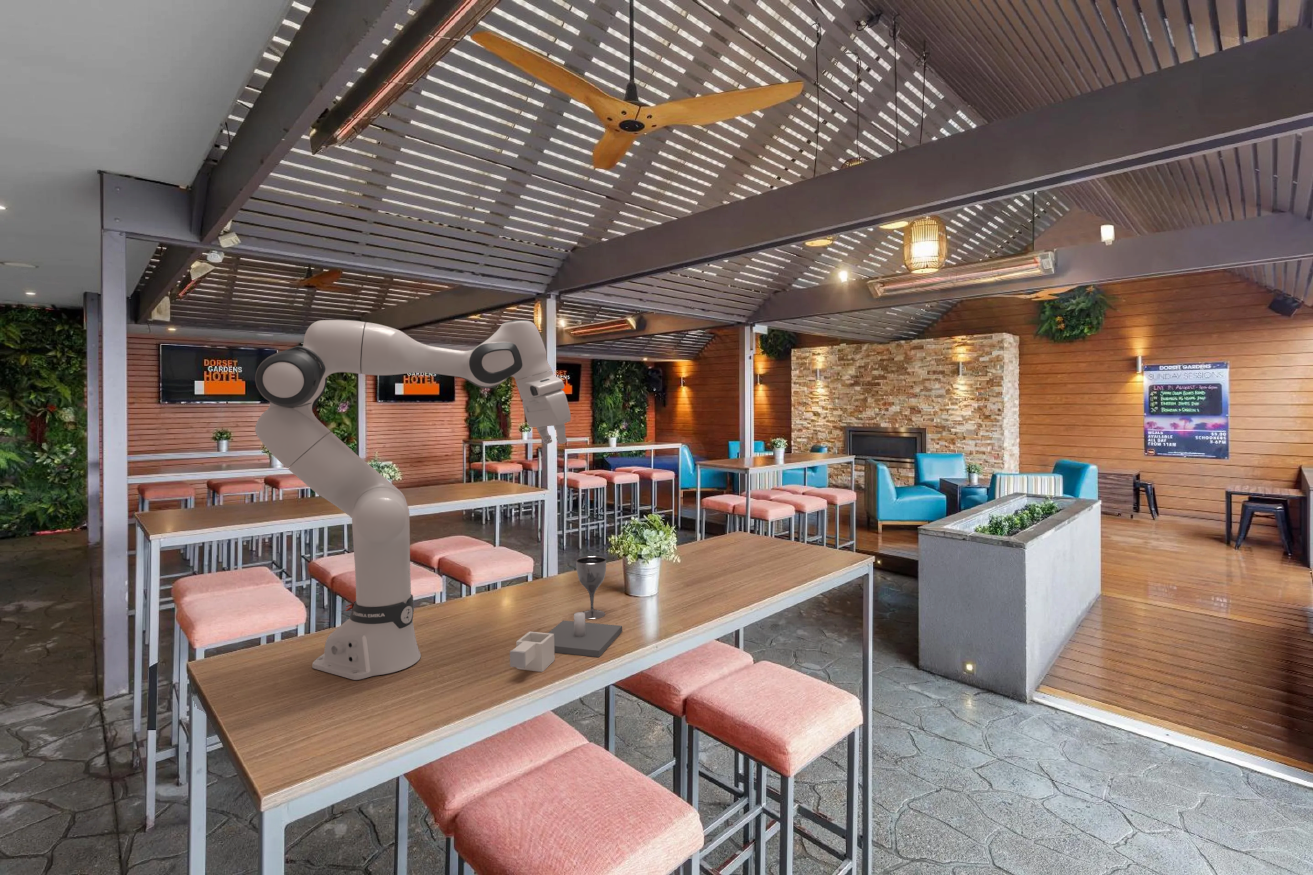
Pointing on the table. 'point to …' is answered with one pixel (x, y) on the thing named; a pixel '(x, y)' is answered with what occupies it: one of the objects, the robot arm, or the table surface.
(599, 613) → the wine glass
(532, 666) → the elbow
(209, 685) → the table surface
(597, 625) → the base
